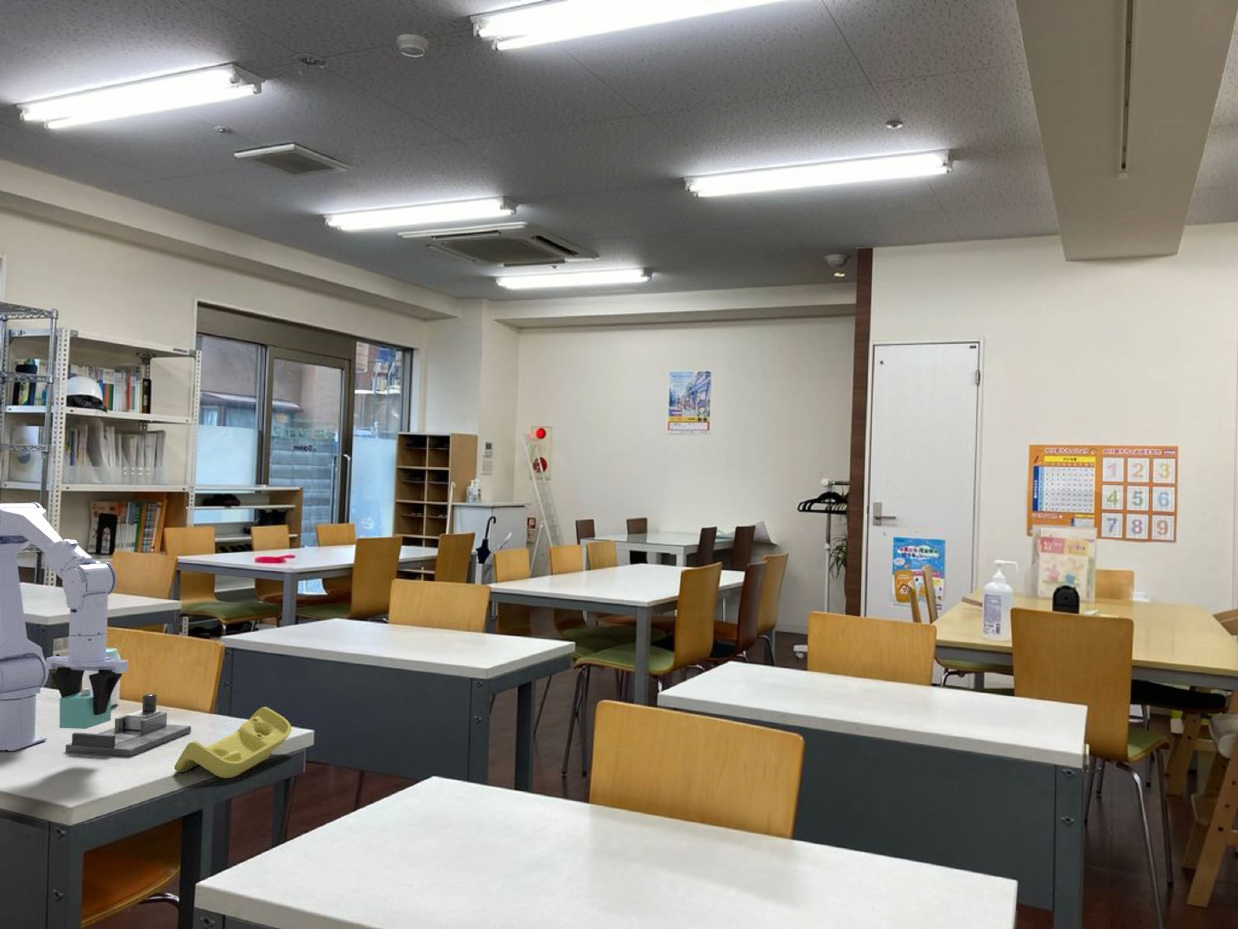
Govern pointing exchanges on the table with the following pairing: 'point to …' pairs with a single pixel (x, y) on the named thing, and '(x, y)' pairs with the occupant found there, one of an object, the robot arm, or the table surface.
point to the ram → (142, 712)
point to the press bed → (127, 737)
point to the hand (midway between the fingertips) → (85, 712)
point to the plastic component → (239, 746)
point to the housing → (81, 711)
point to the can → (85, 679)
